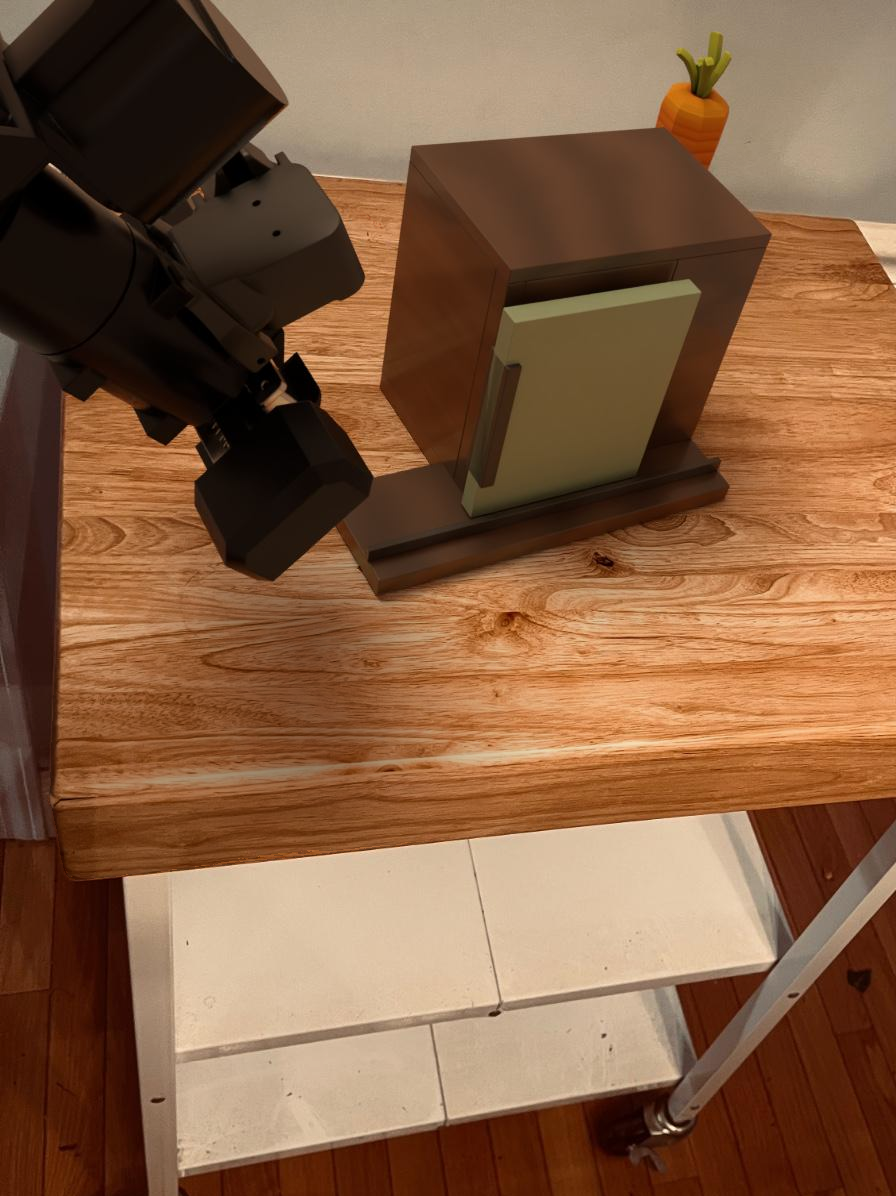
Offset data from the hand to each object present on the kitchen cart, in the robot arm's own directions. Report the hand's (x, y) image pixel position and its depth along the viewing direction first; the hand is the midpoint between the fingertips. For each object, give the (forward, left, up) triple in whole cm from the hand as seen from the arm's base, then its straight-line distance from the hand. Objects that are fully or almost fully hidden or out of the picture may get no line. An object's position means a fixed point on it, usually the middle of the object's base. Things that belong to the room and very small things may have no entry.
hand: (338, 451), depth 56 cm
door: (+13, 0, -6) cm, 15 cm away
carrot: (+36, +23, -8) cm, 44 cm away
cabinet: (+13, +5, -8) cm, 16 cm away
